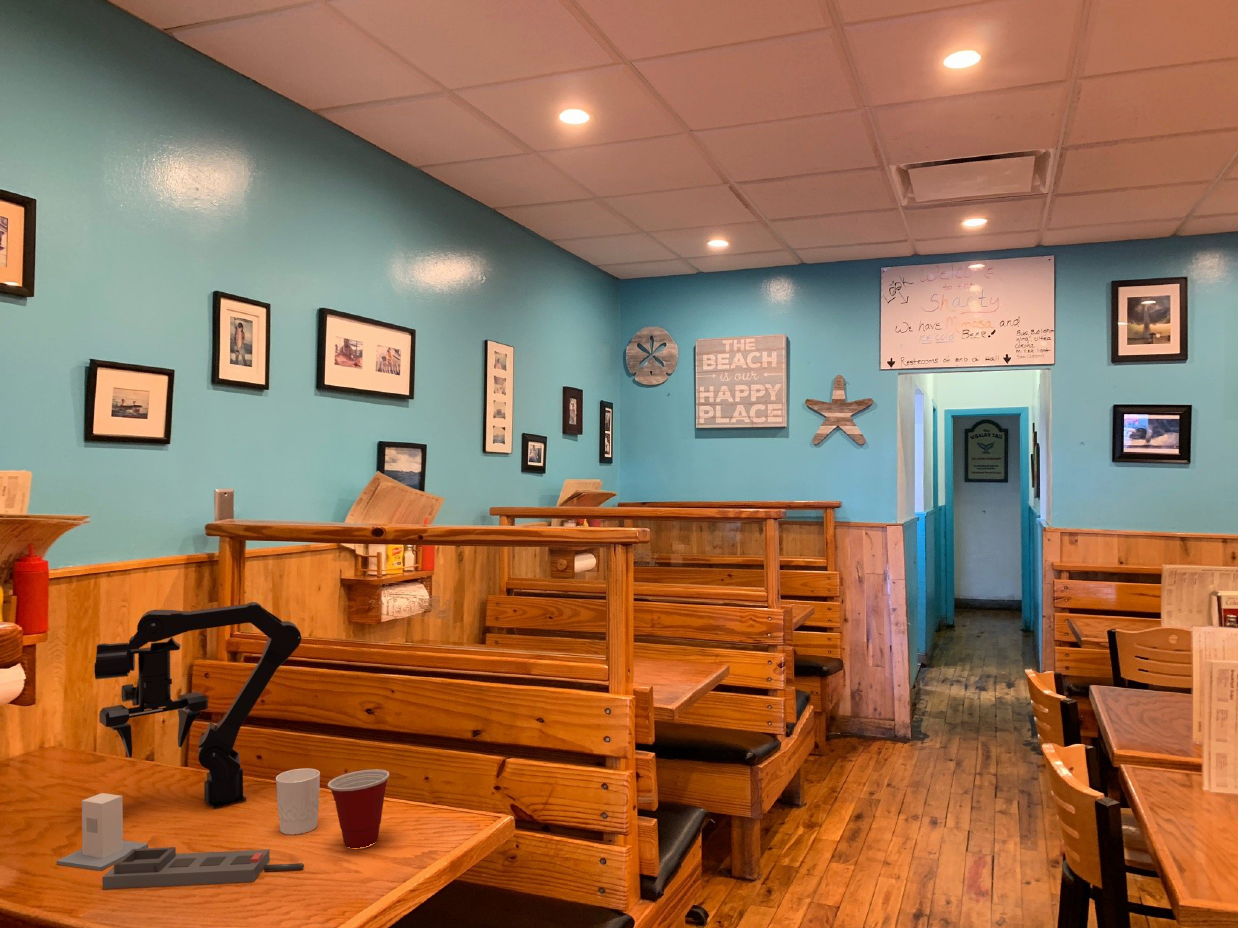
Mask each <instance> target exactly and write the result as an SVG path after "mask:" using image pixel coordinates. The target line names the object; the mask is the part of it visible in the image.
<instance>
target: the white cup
mask: <svg viewBox="0 0 1238 928" xmlns="http://www.w3.org/2000/svg"><path fill="white" fill-rule="evenodd" d="M320 778H321V772H320V770H318V769H315V768H307V767H306V768H297V769H295V768H294V769H290V770H287V771H283V772H280V774H277V776H276V777H275V787H276V803H277V814H278V818H279V819H278V820H279V831H280V833H282V834H283V833H284V835H291V836H292V835H295V834H296V835H302V834H306V832H307V833H309V832H311V831H313V830H315V829H316V828H317V827H318V818H319V817H318V816H319V809H320V808H319V806H320V783H321V782H320ZM301 833H302V834H301ZM296 835H295V836H296Z"/></svg>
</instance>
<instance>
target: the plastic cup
mask: <svg viewBox="0 0 1238 928" xmlns="http://www.w3.org/2000/svg"><path fill="white" fill-rule="evenodd" d="M388 779H390V772H389V771H388V770H384V769H378V768H376V769H364V770H358V771H353V772H348V773H345V774H341V775H339V776H337V777H334V778H333V779H331V780H330V781H329V782H328V783H327V787H328V789H329V790H330V791H331V794H332V795H333V800H334V803H335V808H336V813H337V817H338V822H339V823H338V824H339V829H341V836H342V841H343V843H344V847H345V846H346V847H345V848H347V847H350V848H360V847H366V846H369V845H370V844H373V843H375V842H376V841H377V842H378V839H379V834H380V825H381V823H382V815H383V808H384V807H383V806H384V800H385V794H386V787H387V782H388Z"/></svg>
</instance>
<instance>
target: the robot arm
mask: <svg viewBox="0 0 1238 928" xmlns="http://www.w3.org/2000/svg"><path fill="white" fill-rule="evenodd" d="M243 624H251V625H253V626H254V627H255V628H257V629H258V630H259V631H260V632H261V633H263V634H264V635H265V636H266V637H268V638H267V640H266V643H265V646H264V649H263V652H262V654H261V657H260V659H259V661H258V662H257V663H256V666H255V667H254V668H253V670H252V672H251V674H250V675H249V677H248V678H247V679H246V681H245V683H244V685H243V686H242V688H241V689H240V691H239V693H238V694H237V695H236V697H235V699H234V700H233V702H232V703H231V705H230V706H229V708H228V710H227V712H226V713H225V714H224V716H223V718H222V719H221V720H219V722H217V723H216V724H215V723H213V722H212V721H210V722H209V723H208V725H207V728H206V730H205V732H204V733H203V734H202V735H201V736H200V737H199V738H198V762H199V764H200V765H201V767H203V768H205V769H206V770H208V772H206V780H204V782H203V786H204V787H203V788H204V789H203V795H204V798H203V799H204V800H203V801H204V802H205V803H206V804H207V805H208V806H210V807H211V808H213V809H218V808H223V807H226V806H230V805H234V804H238V803H241V802H245V801H247V797H246V796H245V795H244V769H243V768H242V767H241V758H240V757H241V756H240V753H239V752H238V751H237V750H235V749H234V745H235V744H236V741H237V738H238V734H239V732H240V730H241V727H242V726H243V724H244V722H245V721H246V720H247V718H248V716H249V715H250V713H251V711H252V710H253V708H254V706H255V705H256V703H257V702H258V700H259V699H260V697H261V695H262V693H263V692H264V691H265V689H266V688H267V686H268V684H269V682H270V681H271V679H272V678H273V677H274V674H275V673H276V672H277V669H279V667H280V666H281V665H282V664H284V663H285V662H286V661H287V660H288V659H289V658H290V657H291V655H293V653H294V652H295V651H296V650H297V648H298V647H299V646H300V644H301V642H302V634H301V631H300V630H299V628H298V626H297V625H296V624H295V623H293V622H291V621H286V620H284V621H283V620H281V619H280V618H279V617H277V615H275V614H273V613H271V612H270V611H268V610H267V609H265V608H264V607H263V606H262V604H260V603H259V602H255V601H250V602H248V603H244V604H243V603H242V604H234V605H227V606H221V607H219V606H218V607H213V608H204V609H198V610H197V609H196V610H176V609H152V610H148V611H146V612H145V613H144V614H143V615H142V616H141V617H140V619H139V620H138V623H137V627H136V630H137V631H136V632H135V634H133V636H131V637H130V638H129V640H128V642H118V643H117V642H116V643H98V644H97V645H96V654H95V662H94V666H93V667H94V679H95V680H103V679H104V680H106V679H115V678H125V677H129V675H130V674H131V672H133V671H135V670H136V655H137V656H138V657H137V660H138V661H137V663H138V664H137V667H138V673H137V674H138V678H137V681H136V686H134V683H131V684H130V683H129V684H123V685H121V694H120V695H121V701H122V703H125V702H131V705H132V706H134V707H129V708H128V707H126V706H124V705H123V704H118V705H113V706H107V707H102V708H101V710H100V711H99V714H98V715H99V719H98V721H99V723H100V724H101V725H102V726H104V727H105V728H110V729H111V730H113V731H116V732H117V734H118V735H119V737H120V740H121V741H122V744H123V747H124V749H125V752H126V754H127V757H128V758H129V759H130V758H132V757H133V739H132V738H133V737H132V725H131V724H130V723H128V722H129V720H130V718H137V717H142V716H143V717H144V716H146V715H148V716H149V715H154V714H160V713H165V712H171V711H175V710H176V711H177V712H178V715H177V716H178V728H177V729H178V730H177V746H178V747H177V748H182V747H183V745H184V742H185V740H186V737H187V736H188V732H189V730H190V728H191V727H192V725H193V723H194V721H195V720H196V718H197V716H201V715H202V711H205V710H208V709H209V700H208V697H207V696H205V695H204V694H203V693H200V692H198V691H195V692H190V693H184V694H180V695H179V698H178V699H177V700H176V699H175V700H173V699H172V697H171V695H172V693H171V690H172V689H171V685H173V679H172V678H171V651H179V650H180V649H181V644H180V643H178V642H177V641H176V640H175V639H174V638H173V637H176V636H178V635H181V634H184V633H187V632H191V631H199V630H204V629H205V630H206V629H213V628H219V627H227V626H234V625H243ZM167 639H168V640H167ZM162 640H167V641H162ZM161 641H162V642H161ZM148 643H150V646H149V647H144V646H145V645H147V644H148Z"/></svg>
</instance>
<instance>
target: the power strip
mask: <svg viewBox="0 0 1238 928" xmlns="http://www.w3.org/2000/svg"><path fill="white" fill-rule="evenodd" d="M176 849H177V848H176V846H171V847H168V846H167V847H166V846H165V847H150V848H149V847H147V848H145V849H132V850H131V851H129V852H128V853H127V854H126V855H125V856H124V857H122V858H121V859H120V860H119V861H118V862H117V863H115V864H114V865H113V867H112V868H111V869H110V870H108V871H107V872H106V874H104V875H103V876H102V878H101V879H102V890H114V889H116V890H117V889H135V888H156V887H174V886H175V887H177V886H195V885H196V886H197V885H198V886H200V885H217V884H218V885H219V884H220V885H221V884H233V883H234V884H237V883H236V882H242V883H254V882H255V881H256V879H257V878H258V877H259V876H260V874H261V873H262V872H263V871H264V872H275V871H276V872H278V871H281V870H282V871H299V870H300V871H301V870H303V869H304V868H305V864H304V863H303V862H297V863H293V862H292V863H279V864H278V863H276V864H269V863H270V861H271V860H270V857H271V855H270V849H252V850H250V849H249V850H231V851H230V850H228V851H208V852H205V851H204V852H184V853H177V850H176ZM261 871H262V872H261ZM260 872H261V873H260ZM259 873H260V874H259ZM257 876H258V877H257ZM254 880H255V881H254Z"/></svg>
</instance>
